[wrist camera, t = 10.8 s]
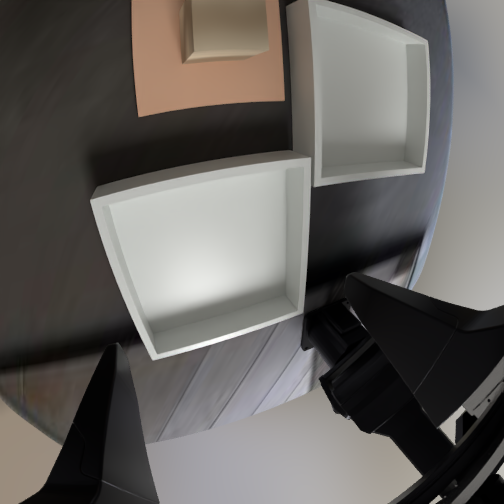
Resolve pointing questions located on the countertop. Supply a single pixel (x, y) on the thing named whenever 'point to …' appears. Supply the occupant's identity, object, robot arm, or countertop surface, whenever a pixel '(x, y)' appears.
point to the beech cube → (222, 30)
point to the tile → (197, 64)
